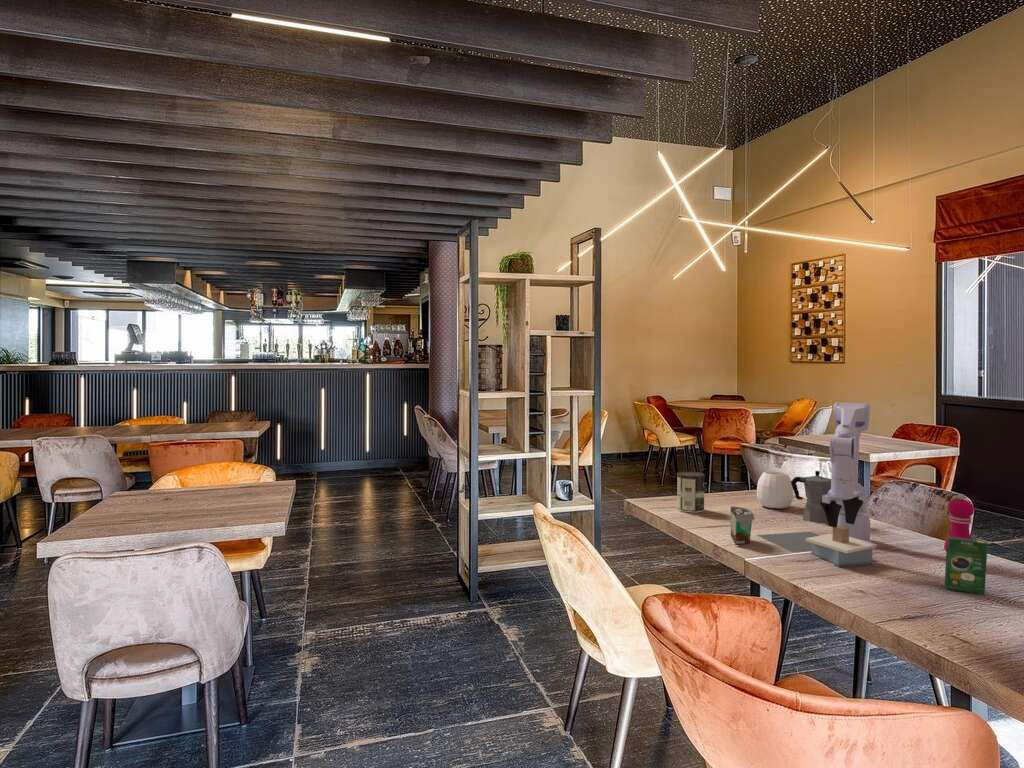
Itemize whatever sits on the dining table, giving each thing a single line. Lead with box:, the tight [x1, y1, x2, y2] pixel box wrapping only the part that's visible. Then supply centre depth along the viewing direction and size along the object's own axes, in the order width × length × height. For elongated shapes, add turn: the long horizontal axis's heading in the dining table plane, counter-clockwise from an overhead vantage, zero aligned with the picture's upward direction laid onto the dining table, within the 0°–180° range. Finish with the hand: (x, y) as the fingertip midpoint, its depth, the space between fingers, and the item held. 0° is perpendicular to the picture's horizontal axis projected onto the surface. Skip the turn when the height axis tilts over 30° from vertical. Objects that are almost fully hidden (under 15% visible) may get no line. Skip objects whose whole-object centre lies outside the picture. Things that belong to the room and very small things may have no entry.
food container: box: [730, 506, 755, 546], centre depth 193 cm, size 12×6×10 cm, turn 168°
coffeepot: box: [791, 470, 831, 524], centre depth 220 cm, size 15×9×18 cm, turn 79°
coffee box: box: [944, 535, 988, 595], centre depth 152 cm, size 8×3×13 cm, turn 61°
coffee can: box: [676, 471, 706, 514], centre depth 235 cm, size 10×10×14 cm
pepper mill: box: [943, 493, 975, 553], centre depth 172 cm, size 7×7×20 cm
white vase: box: [756, 470, 794, 510], centre depth 240 cm, size 13×13×14 cm
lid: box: [806, 526, 878, 553], centre depth 176 cm, size 13×13×5 cm
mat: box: [756, 531, 820, 553], centre depth 193 cm, size 20×18×1 cm
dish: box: [810, 543, 874, 568], centre depth 176 cm, size 11×11×4 cm
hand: (841, 525), depth 177 cm, fingers open, 7 cm apart
